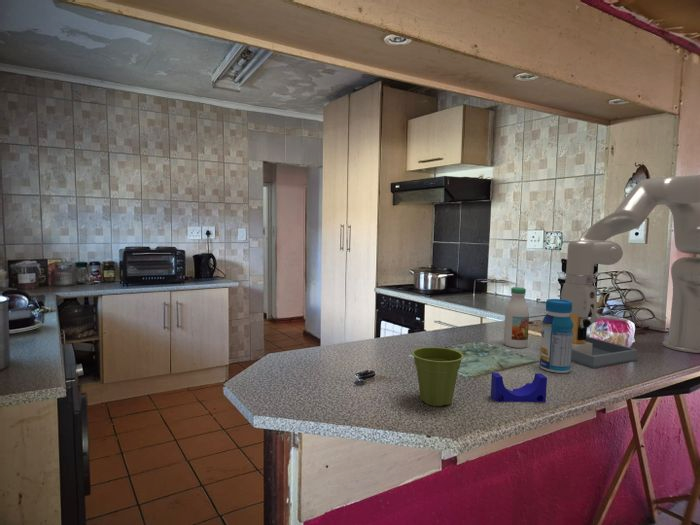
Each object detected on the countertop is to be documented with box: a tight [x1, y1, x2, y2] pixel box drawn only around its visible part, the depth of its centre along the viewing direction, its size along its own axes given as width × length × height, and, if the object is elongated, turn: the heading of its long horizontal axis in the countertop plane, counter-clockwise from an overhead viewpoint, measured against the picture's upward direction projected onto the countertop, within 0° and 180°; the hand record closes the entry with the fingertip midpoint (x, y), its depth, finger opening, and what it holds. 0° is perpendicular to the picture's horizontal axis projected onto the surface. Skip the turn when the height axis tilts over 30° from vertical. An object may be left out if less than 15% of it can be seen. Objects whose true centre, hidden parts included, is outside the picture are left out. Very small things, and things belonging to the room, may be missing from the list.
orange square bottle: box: [569, 314, 585, 345], centre depth 138 cm, size 4×4×12 cm
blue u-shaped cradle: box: [490, 372, 548, 403], centre depth 105 cm, size 12×4×6 cm, turn 91°
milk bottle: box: [503, 286, 530, 349], centre depth 150 cm, size 8×8×20 cm
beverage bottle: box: [539, 298, 574, 374], centre depth 126 cm, size 8×8×20 cm
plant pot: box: [411, 346, 465, 407], centre depth 102 cm, size 12×12×11 cm
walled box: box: [571, 336, 639, 369], centre depth 140 cm, size 20×18×5 cm
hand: (574, 337), depth 138 cm, fingers closed on orange square bottle, 4 cm apart
